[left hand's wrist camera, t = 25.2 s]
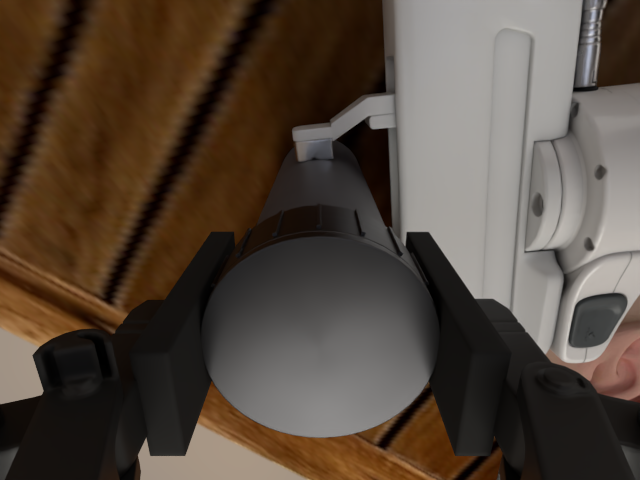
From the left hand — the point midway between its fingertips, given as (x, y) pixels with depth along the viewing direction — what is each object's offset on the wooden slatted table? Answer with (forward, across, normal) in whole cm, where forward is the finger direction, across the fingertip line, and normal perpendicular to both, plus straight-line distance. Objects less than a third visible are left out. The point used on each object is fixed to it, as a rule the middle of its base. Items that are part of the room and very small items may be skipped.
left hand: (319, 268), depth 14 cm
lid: (-4, 0, 0) cm, 4 cm away
